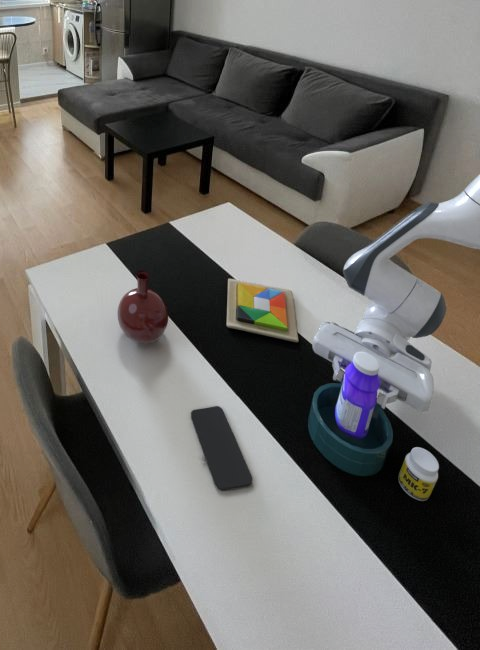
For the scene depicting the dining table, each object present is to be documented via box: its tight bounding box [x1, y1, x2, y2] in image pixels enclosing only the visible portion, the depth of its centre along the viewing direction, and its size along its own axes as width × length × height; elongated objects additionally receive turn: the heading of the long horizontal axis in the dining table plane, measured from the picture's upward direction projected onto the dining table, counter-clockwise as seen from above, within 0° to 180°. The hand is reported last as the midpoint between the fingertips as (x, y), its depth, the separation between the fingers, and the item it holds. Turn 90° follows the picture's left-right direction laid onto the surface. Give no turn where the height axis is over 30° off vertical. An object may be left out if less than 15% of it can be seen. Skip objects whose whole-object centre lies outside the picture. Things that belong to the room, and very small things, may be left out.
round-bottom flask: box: [116, 269, 169, 344], centre depth 110 cm, size 13×13×20 cm
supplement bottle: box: [397, 446, 440, 502], centre depth 78 cm, size 5×5×8 cm
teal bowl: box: [307, 382, 394, 477], centre depth 86 cm, size 14×14×7 cm
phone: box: [190, 405, 253, 492], centre depth 87 cm, size 7×1×15 cm
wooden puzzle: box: [226, 278, 299, 343], centre depth 118 cm, size 18×19×4 cm
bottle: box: [335, 352, 380, 439], centre depth 83 cm, size 7×6×17 cm
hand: (358, 391), depth 82 cm, fingers closed on bottle, 6 cm apart
